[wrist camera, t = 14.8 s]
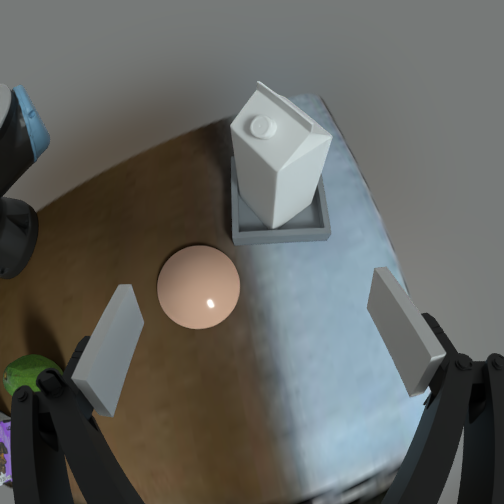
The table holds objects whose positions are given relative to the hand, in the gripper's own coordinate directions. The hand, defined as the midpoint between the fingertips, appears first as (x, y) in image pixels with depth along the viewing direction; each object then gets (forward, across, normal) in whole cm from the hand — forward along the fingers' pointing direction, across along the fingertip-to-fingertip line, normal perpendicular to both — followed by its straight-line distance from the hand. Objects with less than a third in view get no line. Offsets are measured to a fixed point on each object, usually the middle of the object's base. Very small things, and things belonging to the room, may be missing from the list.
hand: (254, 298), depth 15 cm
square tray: (+27, +4, -4) cm, 28 cm away
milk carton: (+27, +4, -4) cm, 27 cm away
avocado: (+10, -31, -22) cm, 40 cm away
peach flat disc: (+19, -7, -12) cm, 24 cm away
